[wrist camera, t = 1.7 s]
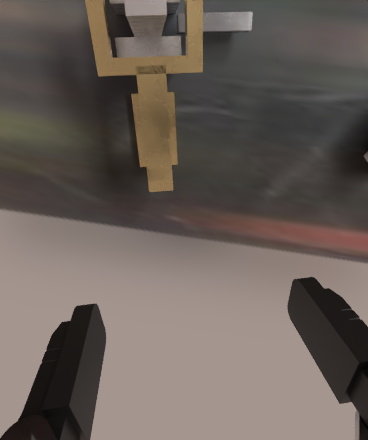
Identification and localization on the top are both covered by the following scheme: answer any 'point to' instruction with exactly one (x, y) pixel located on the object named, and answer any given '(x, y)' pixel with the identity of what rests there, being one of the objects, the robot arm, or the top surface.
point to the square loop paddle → (151, 88)
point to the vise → (154, 23)
